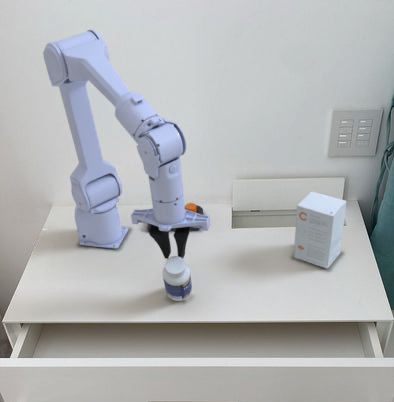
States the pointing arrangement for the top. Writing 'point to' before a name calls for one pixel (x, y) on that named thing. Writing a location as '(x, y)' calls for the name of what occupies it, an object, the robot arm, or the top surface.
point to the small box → (319, 229)
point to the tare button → (191, 207)
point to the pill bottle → (177, 279)
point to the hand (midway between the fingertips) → (174, 256)
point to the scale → (199, 211)
